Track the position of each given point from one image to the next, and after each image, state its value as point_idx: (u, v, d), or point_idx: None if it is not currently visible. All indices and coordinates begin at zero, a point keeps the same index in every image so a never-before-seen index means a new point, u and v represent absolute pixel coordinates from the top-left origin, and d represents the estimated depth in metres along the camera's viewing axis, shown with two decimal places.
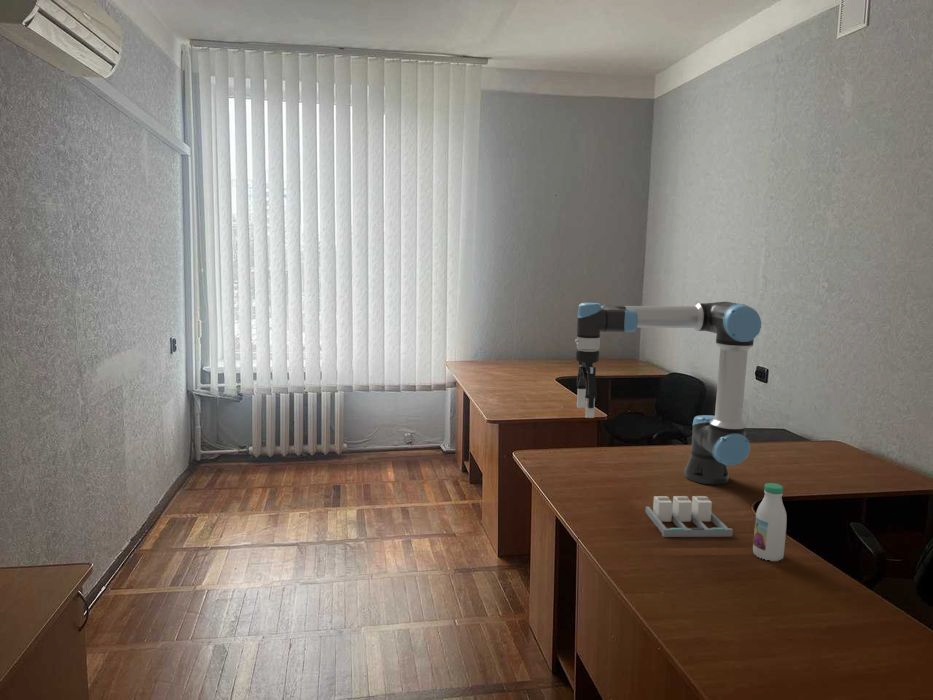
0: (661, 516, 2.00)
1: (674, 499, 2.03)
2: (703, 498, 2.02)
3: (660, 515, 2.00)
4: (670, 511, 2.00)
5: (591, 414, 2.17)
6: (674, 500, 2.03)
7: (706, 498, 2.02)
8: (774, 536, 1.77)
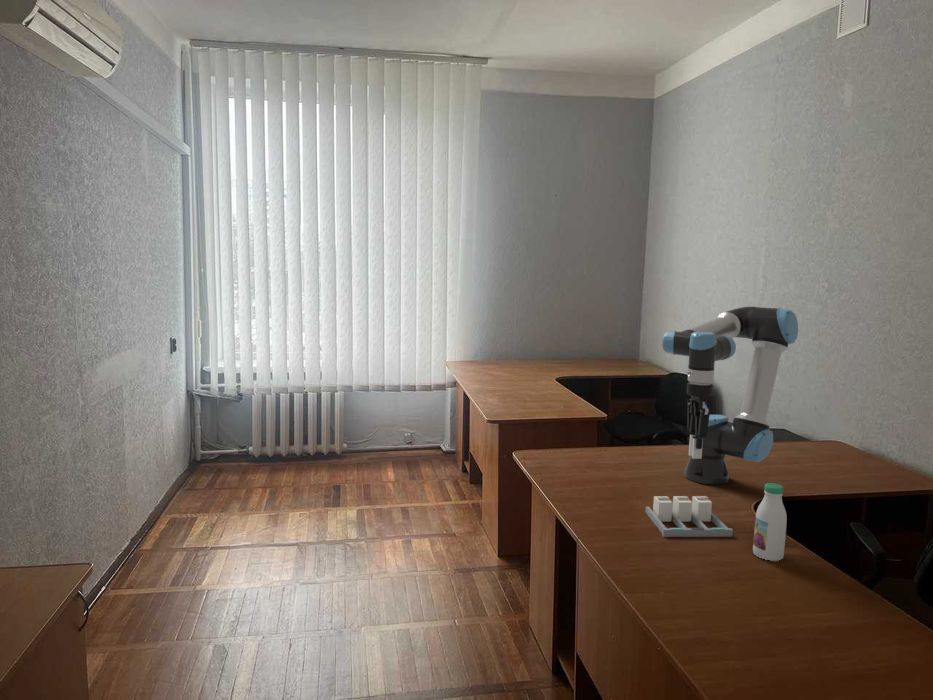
0: (661, 516, 2.00)
1: (674, 499, 2.03)
2: (703, 498, 2.02)
3: (660, 515, 2.00)
4: (670, 511, 2.00)
5: (698, 455, 2.06)
6: (674, 500, 2.03)
7: (706, 498, 2.02)
8: (774, 536, 1.77)
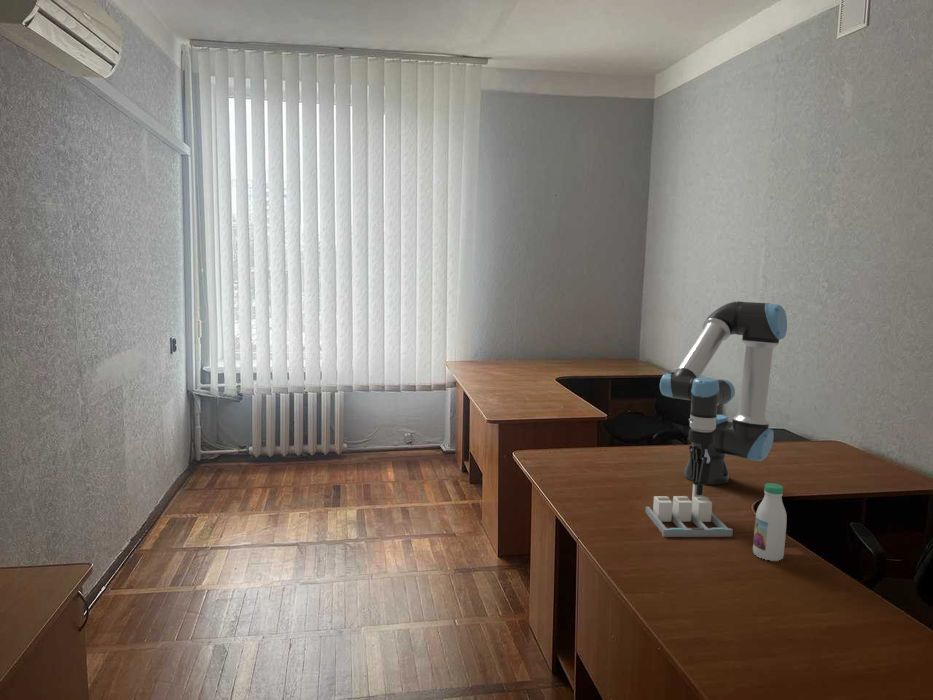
0: (661, 516, 2.00)
1: (674, 499, 2.03)
2: (703, 498, 2.02)
3: (660, 515, 2.00)
4: (670, 511, 2.00)
5: None
6: (674, 500, 2.03)
7: (706, 498, 2.02)
8: (774, 536, 1.77)
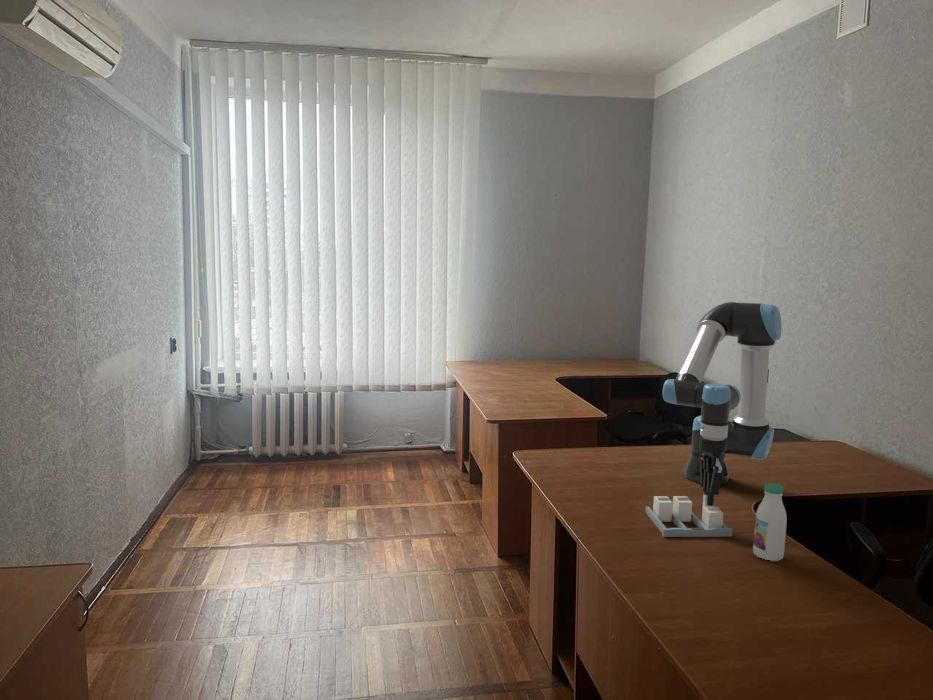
0: (661, 516, 2.00)
1: (674, 499, 2.03)
2: (714, 508, 1.94)
3: (660, 515, 2.00)
4: (670, 511, 2.00)
5: None
6: (674, 500, 2.03)
7: (717, 508, 1.94)
8: (774, 536, 1.77)
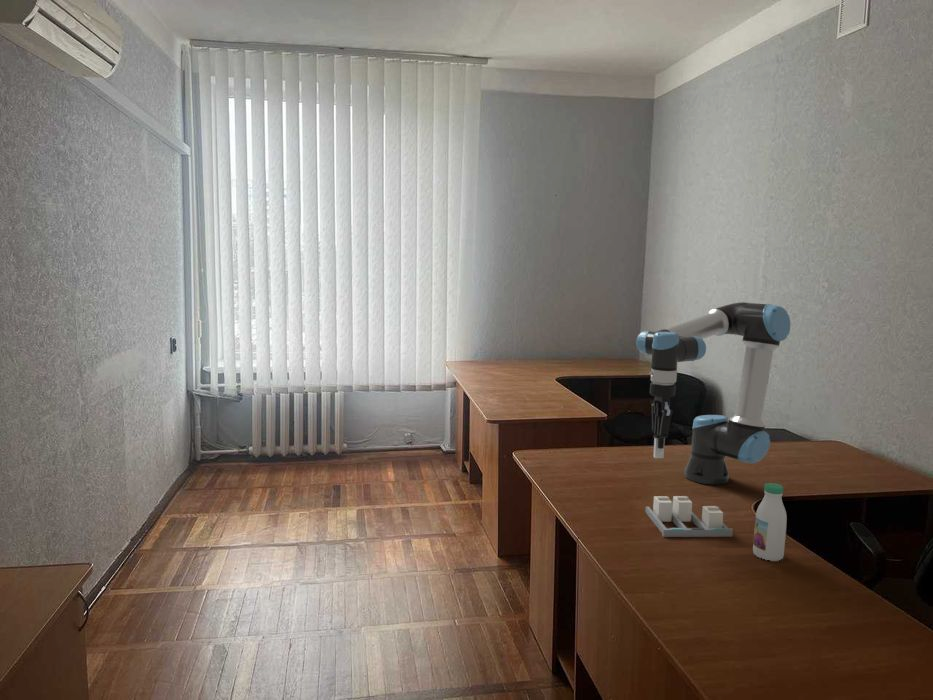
0: (661, 516, 2.00)
1: (674, 499, 2.03)
2: (714, 508, 1.94)
3: (660, 515, 2.00)
4: (670, 511, 2.00)
5: (660, 454, 2.06)
6: (674, 500, 2.03)
7: (717, 508, 1.94)
8: (774, 536, 1.77)
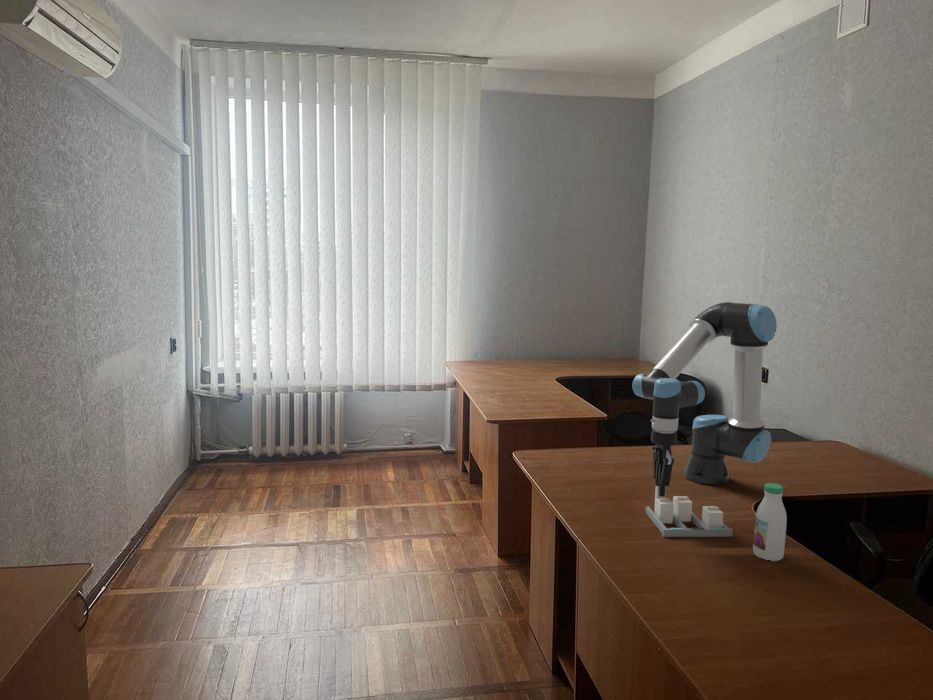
0: (662, 518, 1.99)
1: (674, 499, 2.03)
2: (714, 508, 1.94)
3: (662, 516, 1.98)
4: (671, 513, 1.98)
5: None
6: (674, 500, 2.03)
7: (717, 508, 1.94)
8: (774, 536, 1.77)
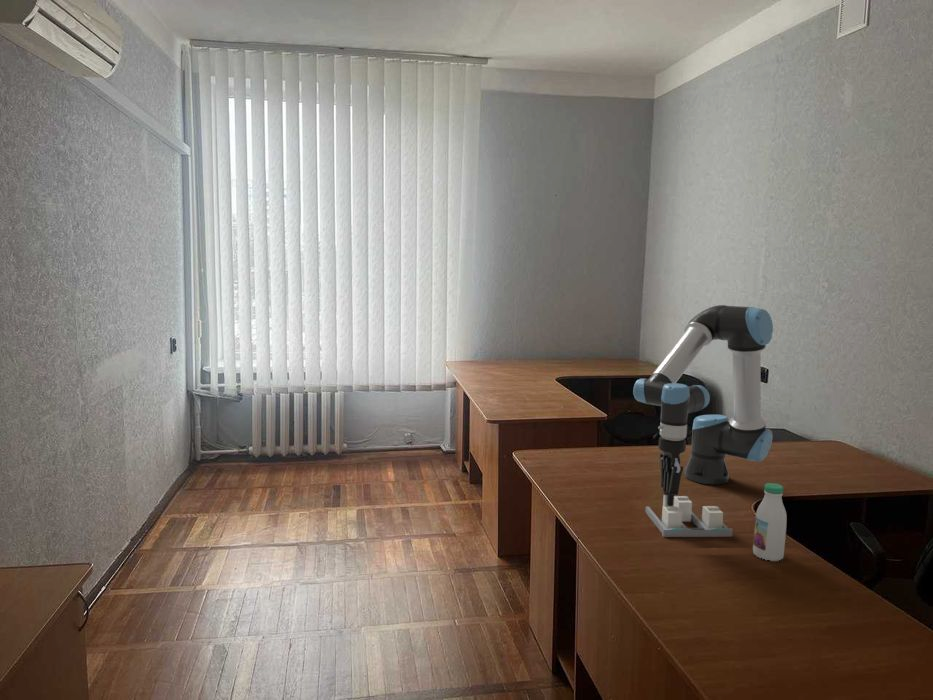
0: (670, 527, 1.92)
1: (674, 499, 2.03)
2: (714, 508, 1.94)
3: (670, 526, 1.92)
4: (680, 522, 1.92)
5: None
6: (674, 500, 2.03)
7: (717, 508, 1.94)
8: (774, 536, 1.77)
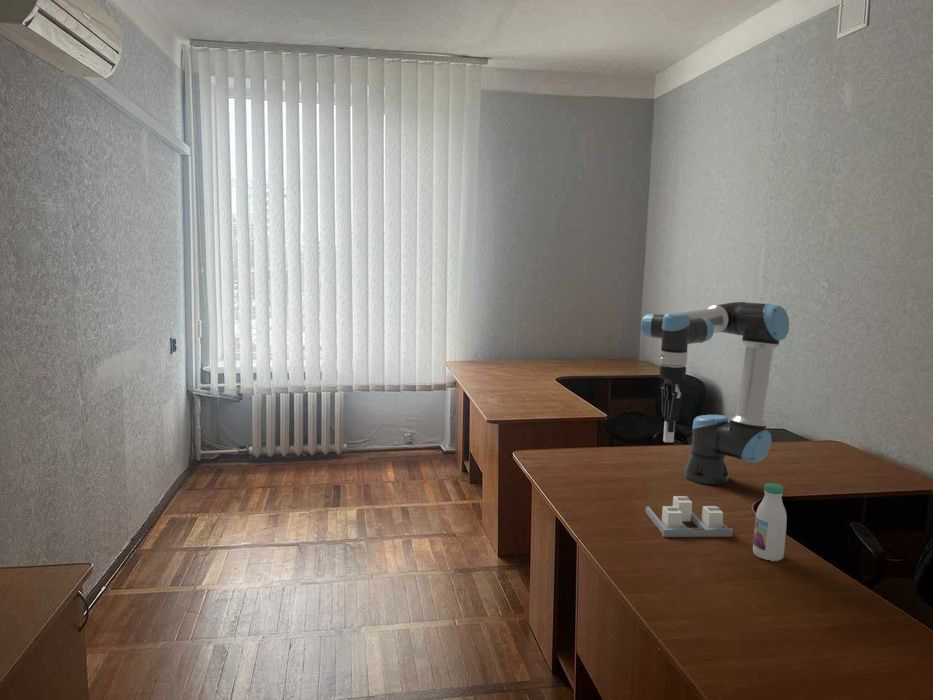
0: (670, 527, 1.92)
1: (674, 499, 2.03)
2: (714, 508, 1.94)
3: (670, 526, 1.92)
4: (680, 522, 1.92)
5: (670, 438, 2.02)
6: (674, 500, 2.03)
7: (717, 508, 1.94)
8: (774, 536, 1.77)
